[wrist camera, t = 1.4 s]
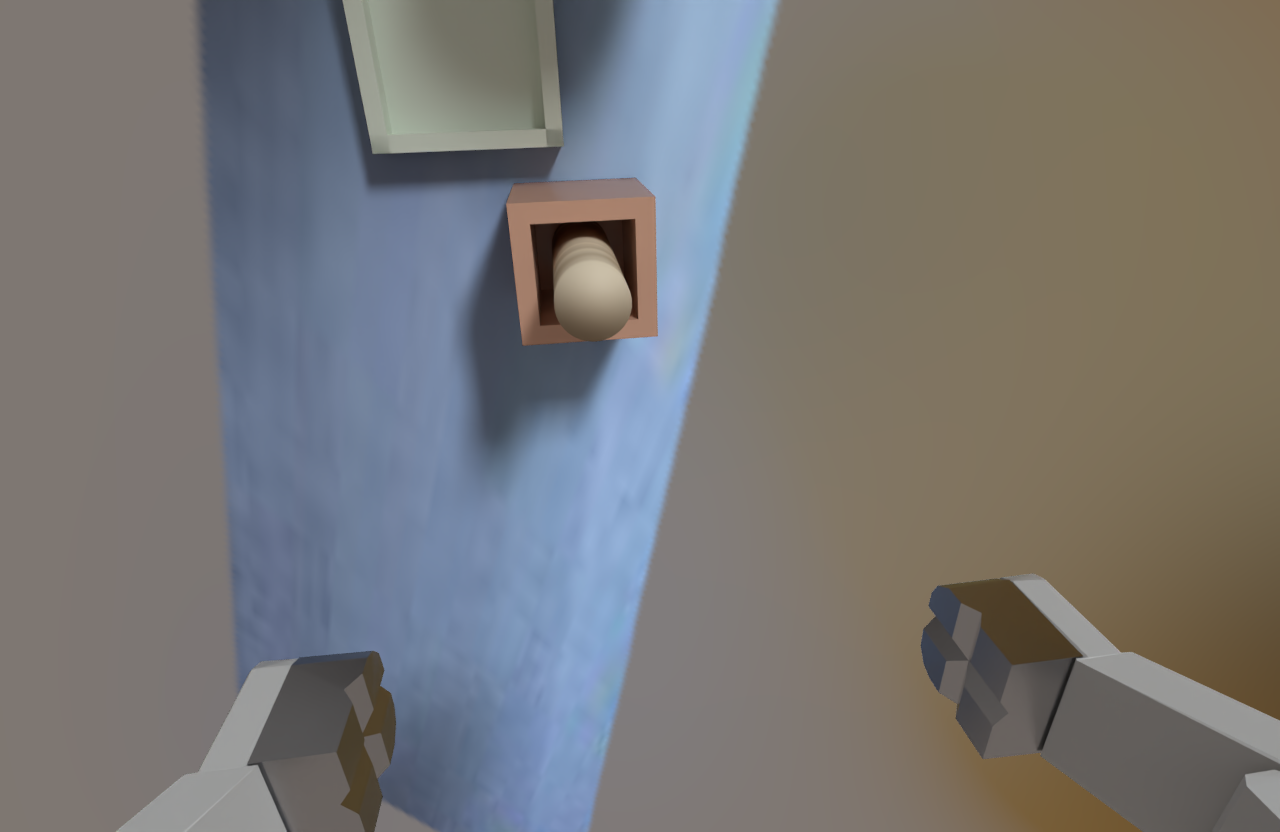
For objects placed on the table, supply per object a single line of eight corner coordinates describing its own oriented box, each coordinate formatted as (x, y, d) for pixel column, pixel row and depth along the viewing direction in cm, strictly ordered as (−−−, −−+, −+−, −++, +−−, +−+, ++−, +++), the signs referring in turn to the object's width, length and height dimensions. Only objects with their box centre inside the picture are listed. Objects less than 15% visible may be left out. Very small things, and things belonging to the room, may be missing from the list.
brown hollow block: (513, 183, 34) (506, 203, 28) (635, 177, 34) (655, 196, 28) (526, 302, 37) (522, 345, 30) (639, 295, 37) (657, 336, 31)
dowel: (549, 217, 34) (550, 268, 24) (606, 215, 34) (630, 263, 25) (554, 274, 35) (557, 344, 26) (609, 271, 36) (633, 338, 26)
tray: (321, -161, 27) (307, -177, 25) (540, -159, 28) (539, -175, 26) (381, 151, 32) (373, 154, 31) (562, 143, 33) (563, 146, 32)
